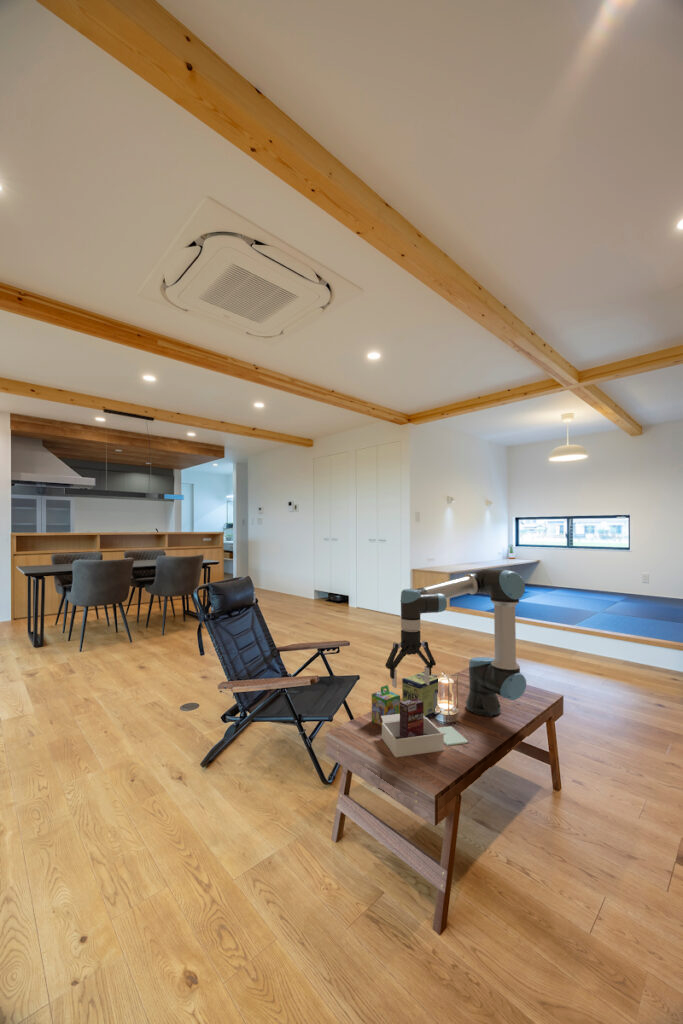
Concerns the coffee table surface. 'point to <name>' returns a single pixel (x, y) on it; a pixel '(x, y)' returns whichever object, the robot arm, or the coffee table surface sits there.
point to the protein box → (421, 691)
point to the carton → (411, 744)
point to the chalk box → (384, 704)
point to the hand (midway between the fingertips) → (410, 685)
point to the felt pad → (452, 736)
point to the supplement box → (411, 718)
